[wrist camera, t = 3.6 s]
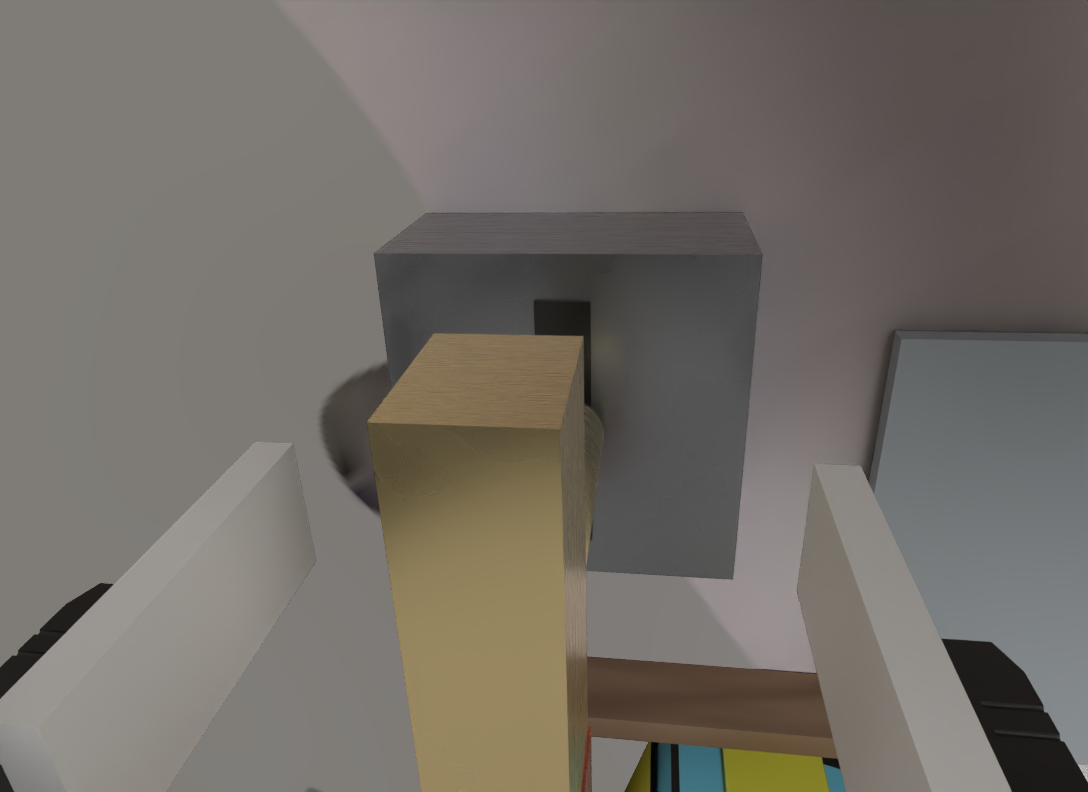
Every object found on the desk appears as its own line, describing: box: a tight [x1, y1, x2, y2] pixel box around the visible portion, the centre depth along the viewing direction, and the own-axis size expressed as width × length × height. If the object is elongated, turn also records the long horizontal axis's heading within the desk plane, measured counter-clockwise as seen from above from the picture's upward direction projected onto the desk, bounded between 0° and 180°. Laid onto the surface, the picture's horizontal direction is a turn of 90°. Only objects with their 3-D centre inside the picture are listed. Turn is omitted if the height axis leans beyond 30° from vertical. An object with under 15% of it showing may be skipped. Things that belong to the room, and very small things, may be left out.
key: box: [367, 333, 604, 792], centre depth 13 cm, size 9×2×8 cm, turn 2°
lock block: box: [374, 212, 762, 580], centre depth 19 cm, size 8×8×4 cm
